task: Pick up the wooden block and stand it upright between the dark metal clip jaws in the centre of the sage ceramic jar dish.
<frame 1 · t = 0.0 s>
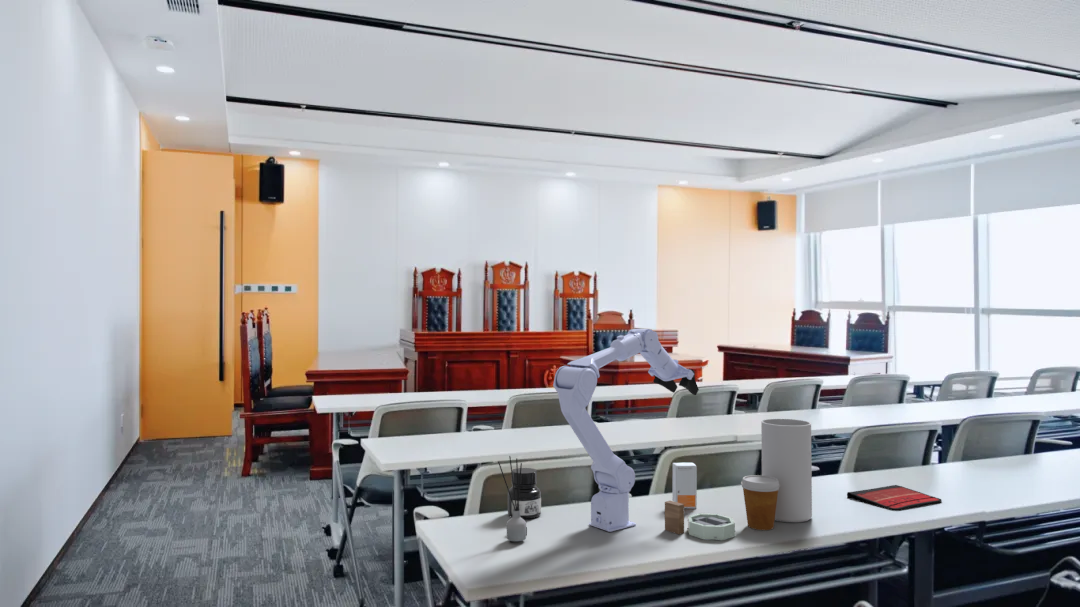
hand: (685, 390, 198), 32 cm above the table, tool tilted 50°, fingers open, 7 cm apart
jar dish: (711, 532, 174), on the table
skincare box: (684, 507, 197), on the table
reed diffuser: (511, 541, 168), on the table
wooden block: (674, 531, 175), on the table
cylinder vase: (786, 517, 188), on the table
binder: (895, 502, 204), on the table
ink bottle: (524, 516, 190), on the table
disposable coffee cup: (760, 527, 179), on the table
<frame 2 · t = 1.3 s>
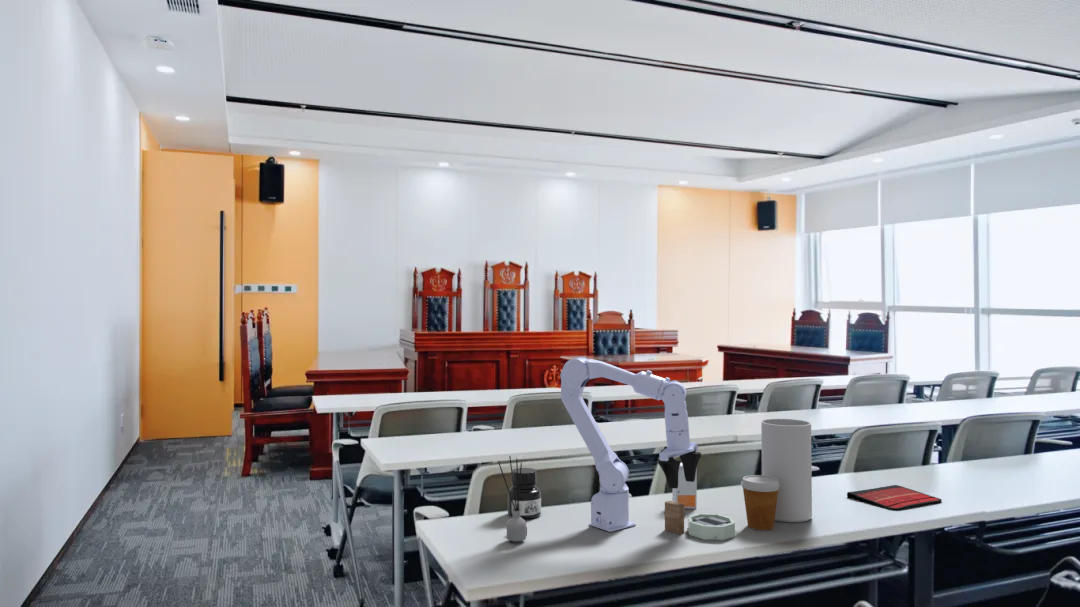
hand: (681, 484, 177), 11 cm above the table, tool pointing down, fingers open, 7 cm apart
nothing on the table moved.
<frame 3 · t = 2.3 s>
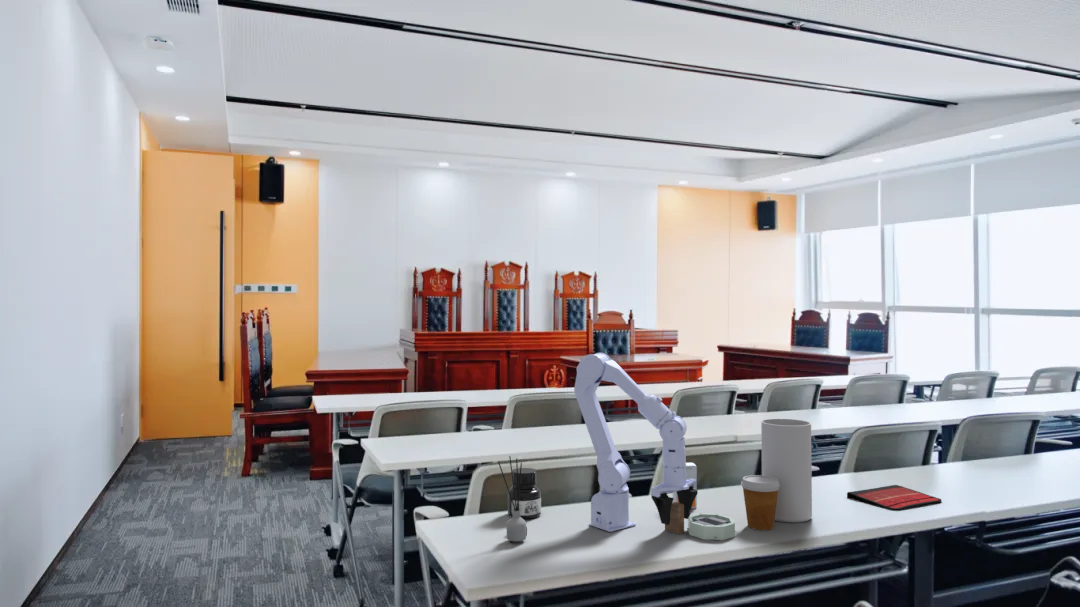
hand: (675, 520, 176), 3 cm above the table, tool pointing down, fingers open, 7 cm apart
nothing on the table moved.
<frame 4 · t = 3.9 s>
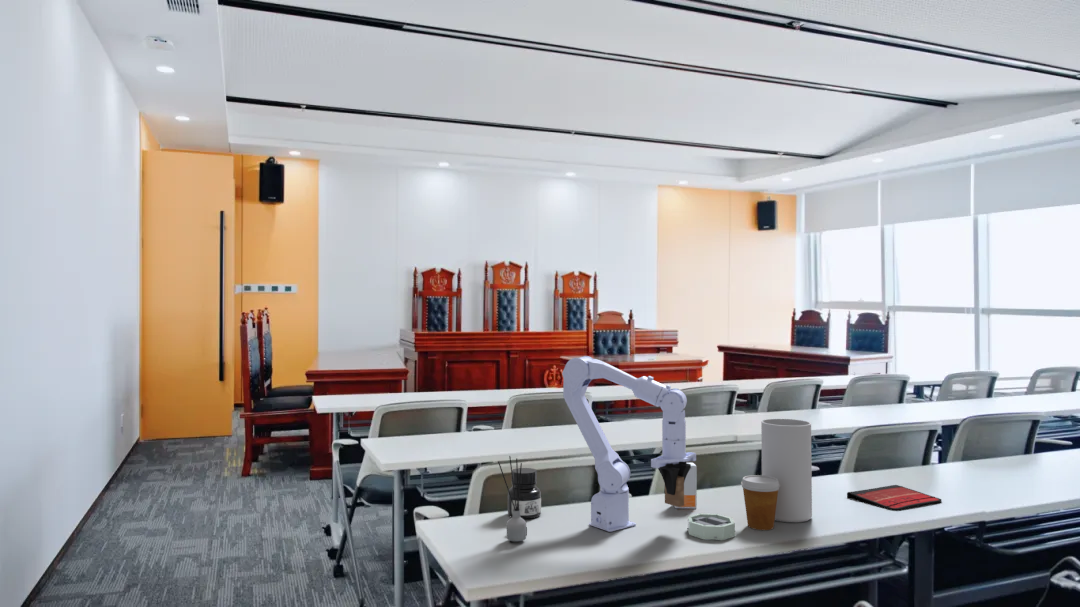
hand: (674, 493, 176), 9 cm above the table, tool pointing down, fingers closed on wooden block
wooden block: (674, 504, 176), point 7 cm above the table, touching gripper
everything else where it was.
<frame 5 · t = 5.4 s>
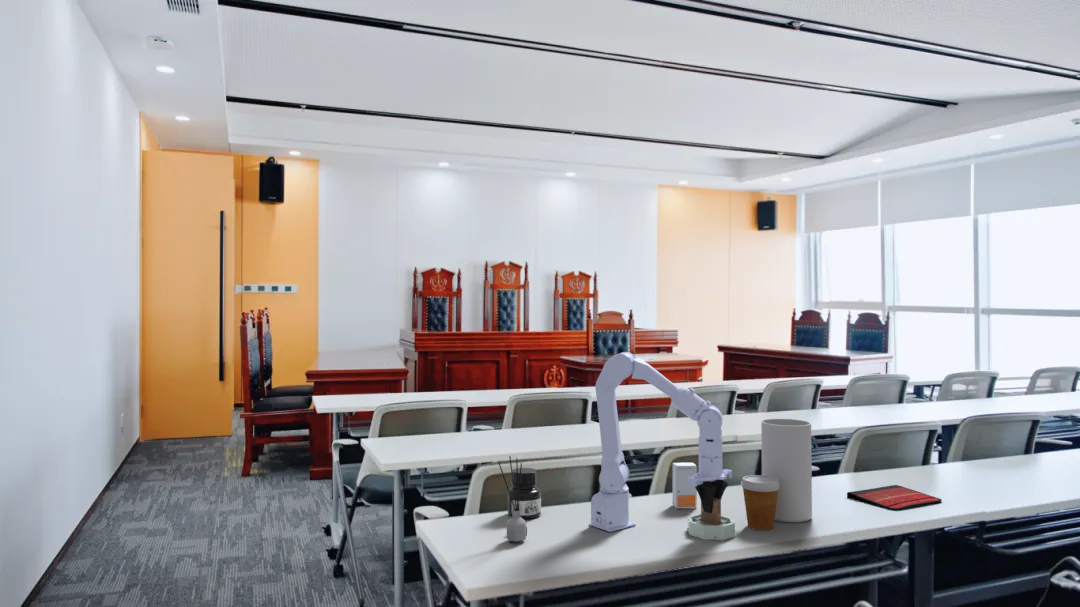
hand: (710, 511, 174), 5 cm above the table, tool pointing down, fingers closed on wooden block, 2 cm apart
wooden block: (710, 526, 174), point 2 cm above the table, touching gripper
everything else where it was.
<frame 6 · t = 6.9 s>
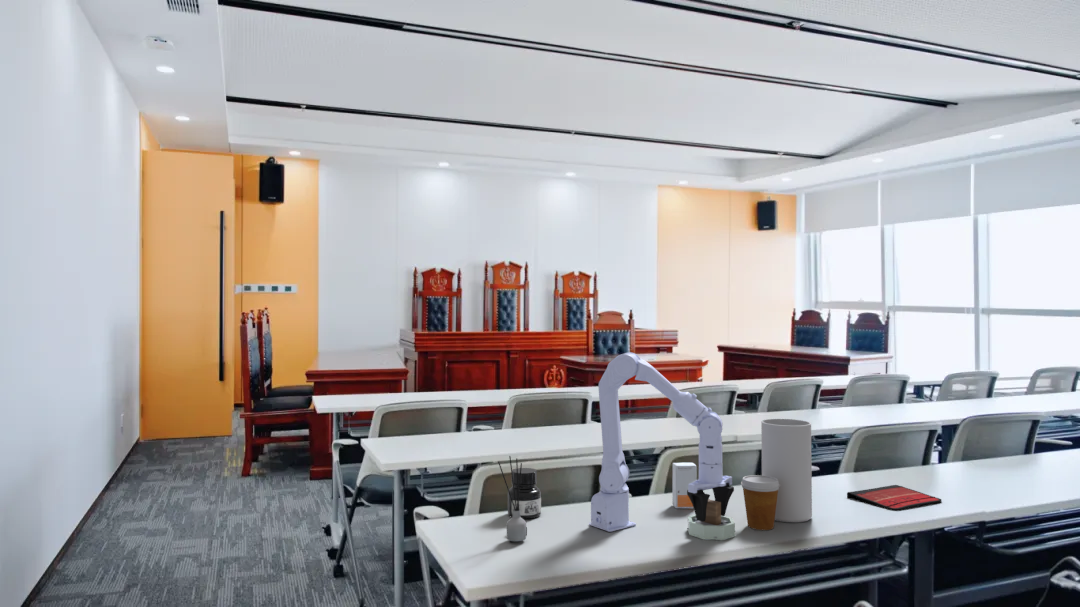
hand: (710, 517, 174), 4 cm above the table, tool pointing down, fingers open, 7 cm apart
wooden block: (711, 529, 174), point 1 cm above the table, touching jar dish
everything else where it was.
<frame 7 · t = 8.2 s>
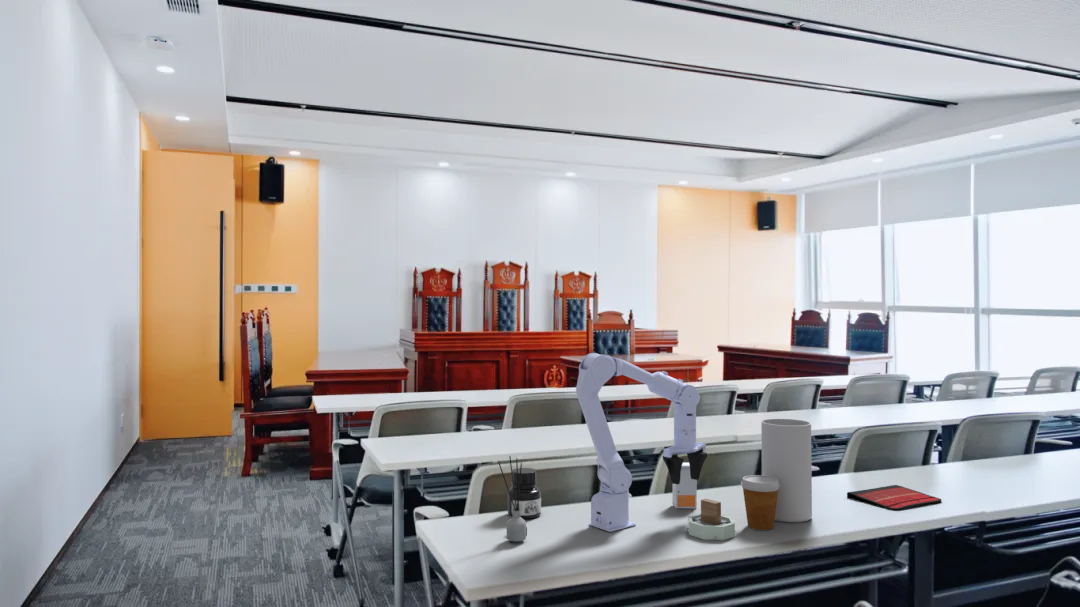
hand: (685, 481, 186), 10 cm above the table, tool pointing down, fingers open, 7 cm apart
nothing on the table moved.
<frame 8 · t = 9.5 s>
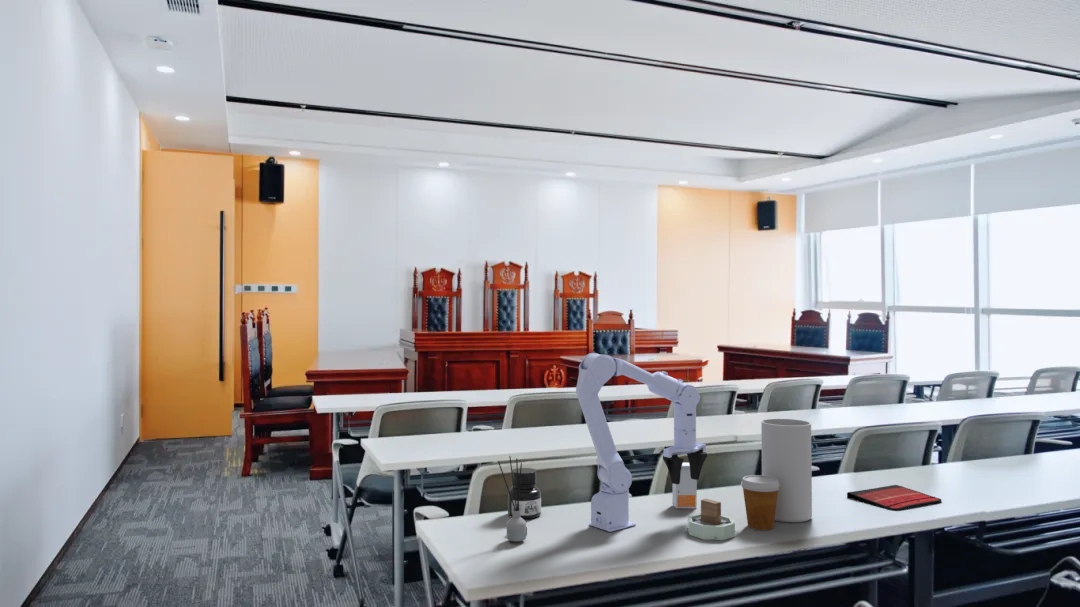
hand: (685, 481, 186), 10 cm above the table, tool pointing down, fingers open, 7 cm apart
nothing on the table moved.
at the end: wooden block 0.0 cm off-centre on the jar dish, point 0.8 cm above the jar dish's base; wooden block tilted 0°; the gripper is holding nothing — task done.
